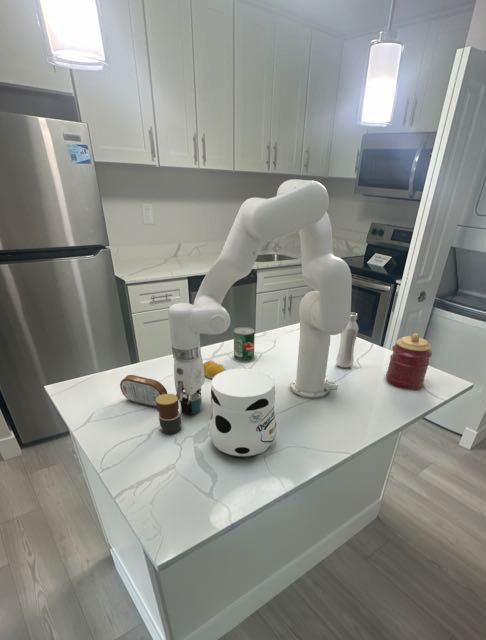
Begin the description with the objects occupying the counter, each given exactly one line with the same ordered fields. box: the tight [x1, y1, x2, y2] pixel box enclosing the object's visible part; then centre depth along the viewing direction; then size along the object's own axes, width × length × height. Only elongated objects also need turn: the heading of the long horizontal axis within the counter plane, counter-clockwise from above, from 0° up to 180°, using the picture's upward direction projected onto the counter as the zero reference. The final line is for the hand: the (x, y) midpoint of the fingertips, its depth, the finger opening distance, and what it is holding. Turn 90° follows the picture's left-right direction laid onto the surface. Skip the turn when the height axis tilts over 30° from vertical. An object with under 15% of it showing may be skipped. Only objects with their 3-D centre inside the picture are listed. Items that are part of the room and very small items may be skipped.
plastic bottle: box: [335, 311, 360, 369], centre depth 137 cm, size 6×7×20 cm
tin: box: [119, 374, 169, 408], centre depth 111 cm, size 15×3×8 cm, turn 71°
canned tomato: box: [233, 326, 256, 363], centre depth 142 cm, size 8×8×11 cm
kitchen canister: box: [385, 333, 433, 390], centre depth 128 cm, size 13×13×18 cm
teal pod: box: [183, 392, 202, 415], centre depth 110 cm, size 6×6×5 cm
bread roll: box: [203, 360, 226, 379], centre depth 131 cm, size 8×9×4 cm
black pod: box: [158, 410, 182, 435], centre depth 101 cm, size 6×6×5 cm
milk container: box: [209, 367, 278, 458], centre depth 94 cm, size 17×17×18 cm
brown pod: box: [156, 393, 180, 419], centre depth 99 cm, size 6×6×5 cm
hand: (191, 408), depth 111 cm, fingers closed on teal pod, 5 cm apart
